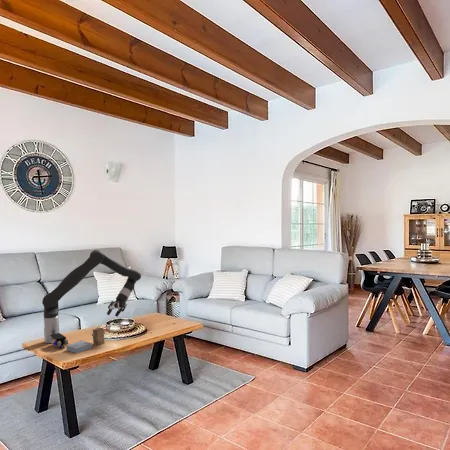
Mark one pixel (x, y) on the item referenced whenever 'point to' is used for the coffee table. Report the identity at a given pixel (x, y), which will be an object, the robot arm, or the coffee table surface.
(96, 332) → the walnut block
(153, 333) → the coffee table surface
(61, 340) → the figurine character
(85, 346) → the blue-grey square slab
